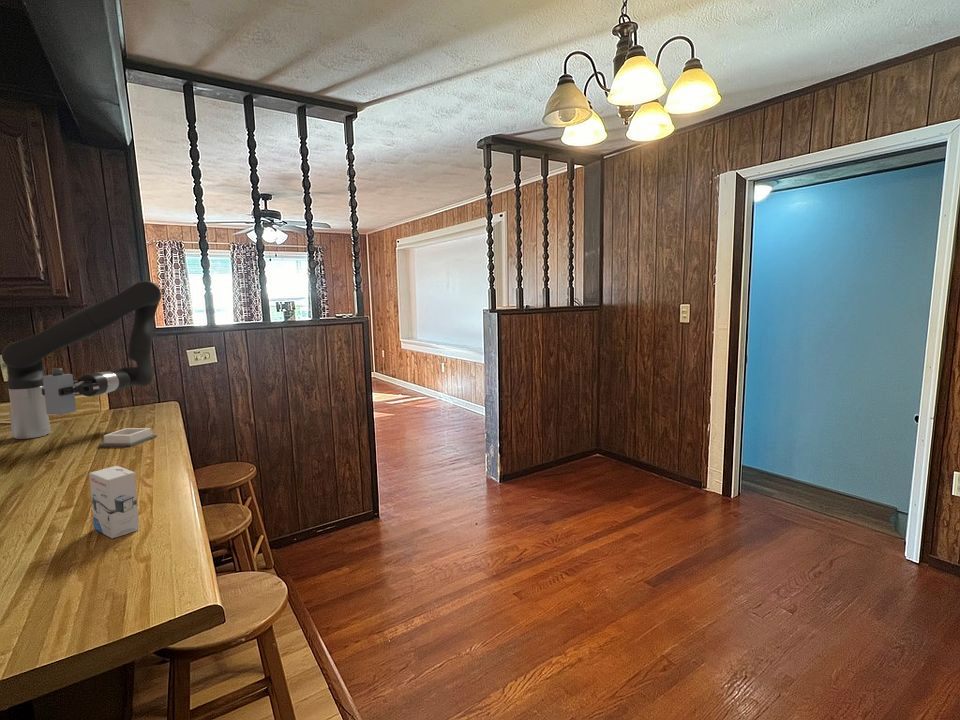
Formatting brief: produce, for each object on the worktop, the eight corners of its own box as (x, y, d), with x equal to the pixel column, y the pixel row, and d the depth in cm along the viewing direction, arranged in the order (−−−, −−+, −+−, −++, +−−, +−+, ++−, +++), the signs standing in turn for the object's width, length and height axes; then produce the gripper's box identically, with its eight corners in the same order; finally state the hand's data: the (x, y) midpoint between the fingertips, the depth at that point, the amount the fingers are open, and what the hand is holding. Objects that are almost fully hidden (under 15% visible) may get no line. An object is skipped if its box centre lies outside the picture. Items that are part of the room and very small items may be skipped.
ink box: (93, 529, 98) (86, 472, 96) (122, 519, 102) (116, 465, 100) (112, 539, 93) (105, 480, 92) (142, 529, 97) (136, 472, 96)
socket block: (99, 446, 156) (97, 436, 156) (126, 436, 167) (125, 427, 167) (131, 446, 155) (130, 436, 155) (156, 436, 166) (155, 427, 166)
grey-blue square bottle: (46, 414, 152) (41, 369, 150) (61, 410, 157) (57, 367, 155) (61, 414, 151) (56, 369, 150) (76, 411, 156) (71, 367, 155)
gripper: (78, 372, 168) (28, 380, 151) (117, 372, 166) (71, 380, 150) (80, 394, 168) (31, 403, 152) (119, 394, 167) (73, 404, 150)
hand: (51, 392), depth 151 cm, fingers closed on grey-blue square bottle, 5 cm apart
